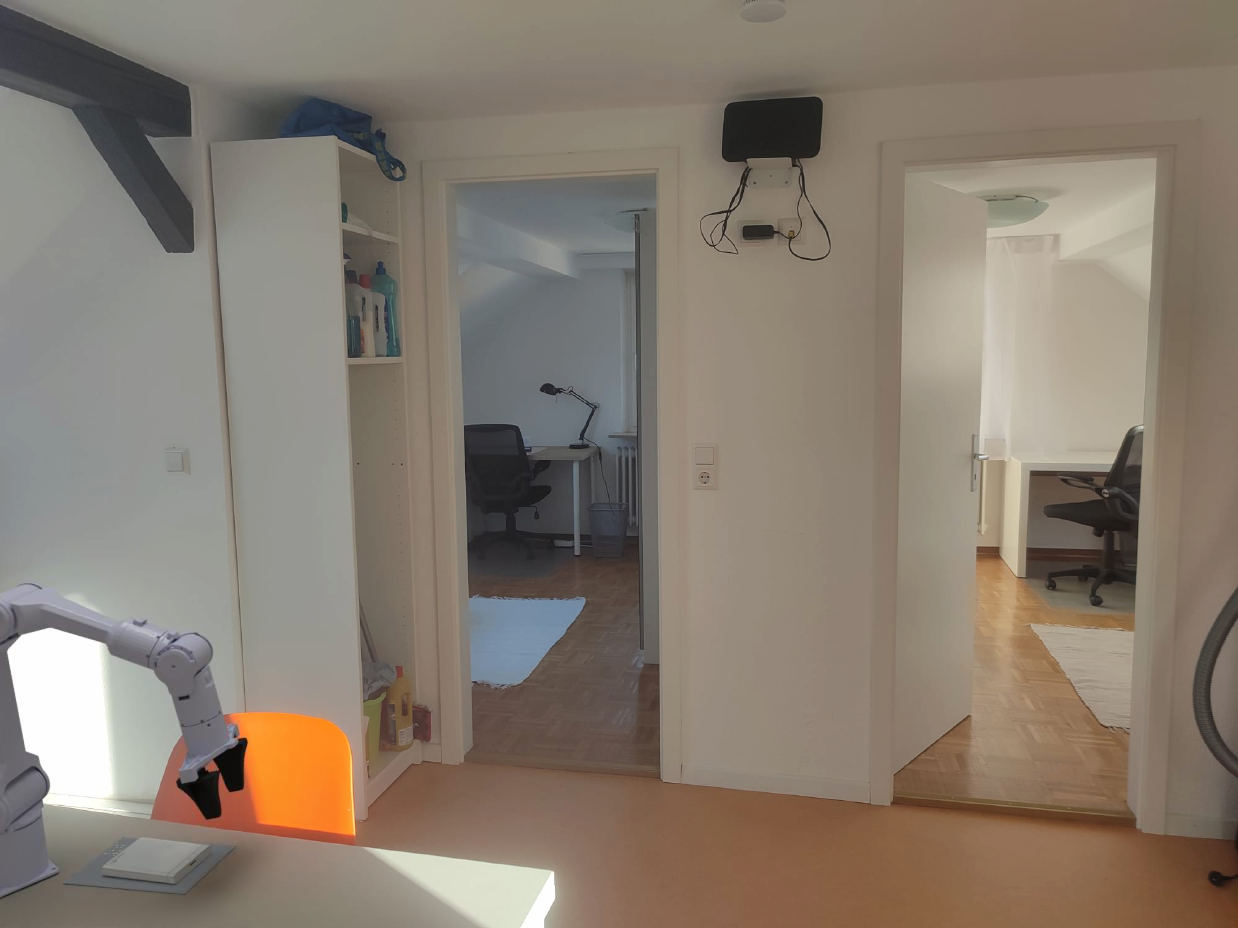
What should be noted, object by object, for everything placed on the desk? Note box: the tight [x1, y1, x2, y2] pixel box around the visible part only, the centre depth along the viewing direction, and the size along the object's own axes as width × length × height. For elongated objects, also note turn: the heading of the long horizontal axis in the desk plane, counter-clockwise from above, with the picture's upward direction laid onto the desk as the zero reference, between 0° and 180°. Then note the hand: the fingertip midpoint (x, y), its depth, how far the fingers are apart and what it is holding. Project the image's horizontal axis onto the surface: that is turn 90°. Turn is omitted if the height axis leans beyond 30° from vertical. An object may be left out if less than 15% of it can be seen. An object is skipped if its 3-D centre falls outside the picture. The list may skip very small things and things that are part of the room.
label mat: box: [62, 837, 237, 895], centre depth 133 cm, size 20×12×1 cm, turn 80°
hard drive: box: [102, 836, 212, 884], centre depth 133 cm, size 2×8×12 cm
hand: (225, 803), depth 129 cm, fingers open, 7 cm apart
